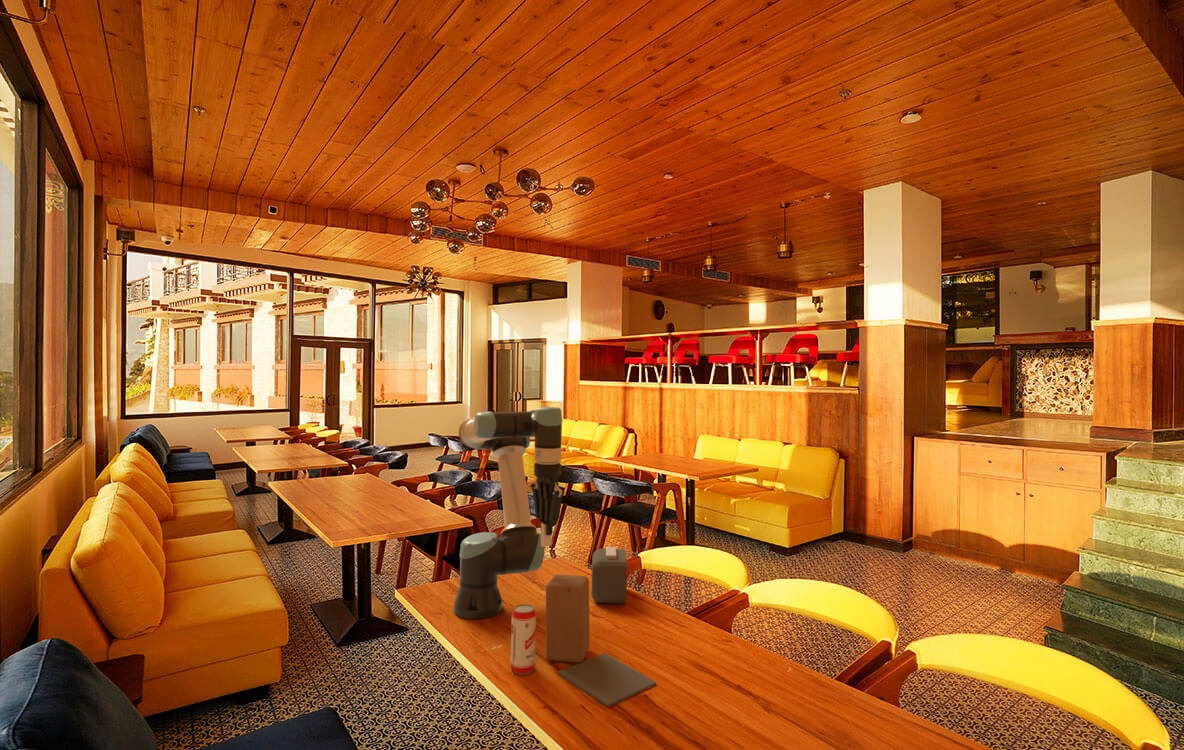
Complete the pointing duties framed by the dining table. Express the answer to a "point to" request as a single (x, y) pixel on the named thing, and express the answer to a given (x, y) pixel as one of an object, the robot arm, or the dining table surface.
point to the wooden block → (567, 618)
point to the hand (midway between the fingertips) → (546, 545)
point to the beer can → (523, 639)
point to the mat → (606, 679)
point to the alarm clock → (609, 575)
